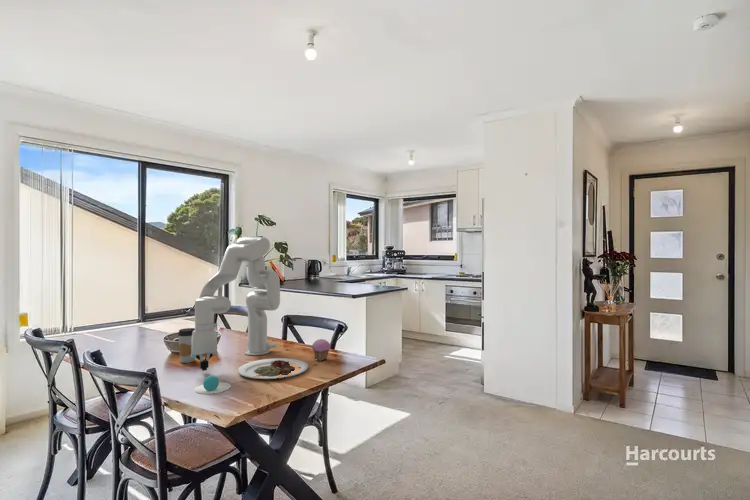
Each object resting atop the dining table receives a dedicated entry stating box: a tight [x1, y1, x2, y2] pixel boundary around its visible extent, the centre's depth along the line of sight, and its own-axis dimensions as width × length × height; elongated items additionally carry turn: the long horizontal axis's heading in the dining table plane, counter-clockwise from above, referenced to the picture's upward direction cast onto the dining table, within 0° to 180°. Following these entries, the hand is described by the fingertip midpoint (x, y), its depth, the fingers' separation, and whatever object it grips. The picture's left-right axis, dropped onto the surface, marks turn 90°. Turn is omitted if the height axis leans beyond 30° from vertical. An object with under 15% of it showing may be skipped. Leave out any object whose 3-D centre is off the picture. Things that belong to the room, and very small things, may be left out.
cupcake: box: [311, 338, 331, 361], centre depth 202 cm, size 9×9×10 cm
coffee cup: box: [177, 327, 196, 364], centre depth 199 cm, size 8×8×15 cm
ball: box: [202, 375, 220, 391], centre depth 159 cm, size 6×6×6 cm
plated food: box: [237, 357, 309, 380], centre depth 184 cm, size 30×30×3 cm
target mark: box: [194, 381, 232, 395], centre depth 161 cm, size 13×13×1 cm
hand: (204, 369), depth 180 cm, fingers closed
